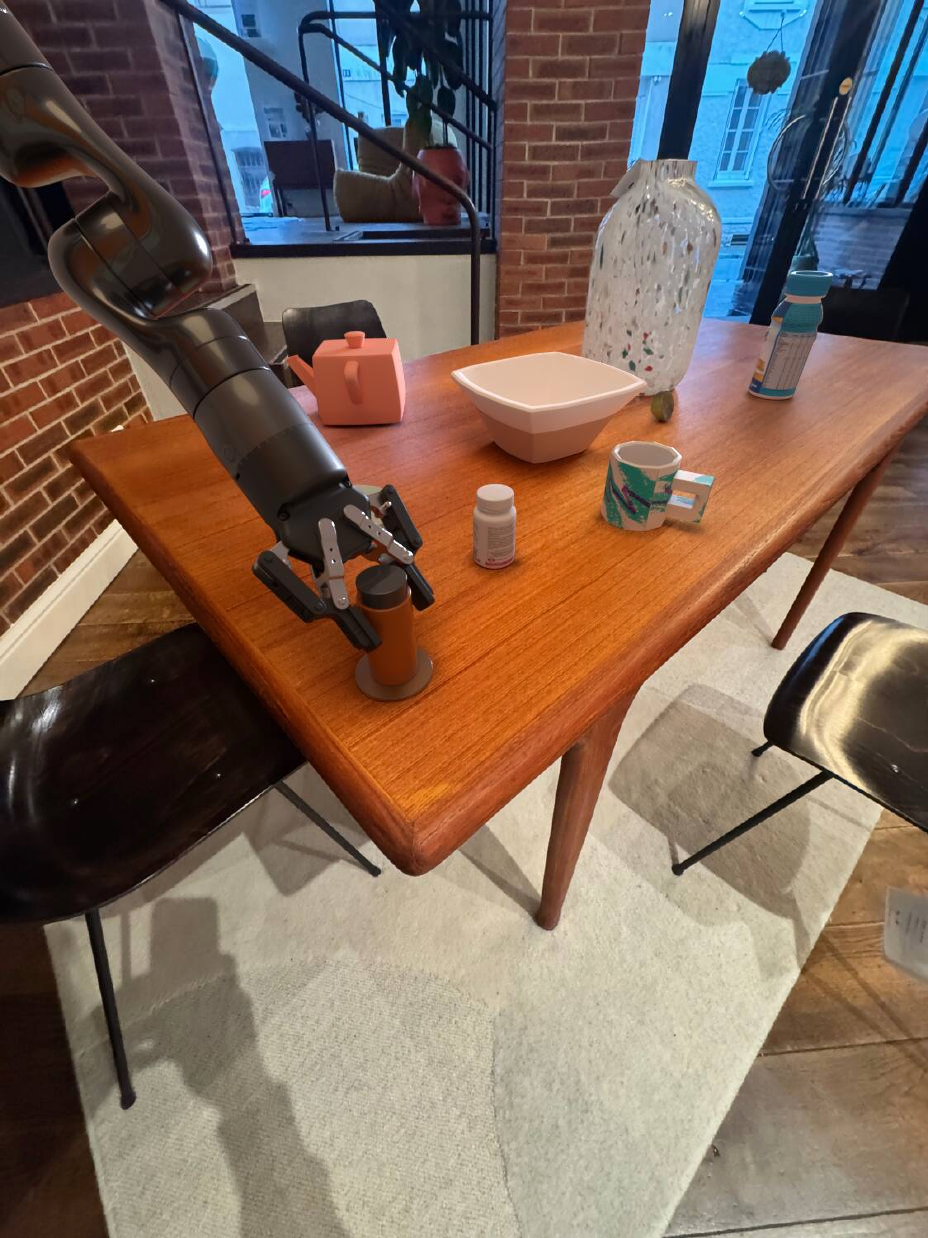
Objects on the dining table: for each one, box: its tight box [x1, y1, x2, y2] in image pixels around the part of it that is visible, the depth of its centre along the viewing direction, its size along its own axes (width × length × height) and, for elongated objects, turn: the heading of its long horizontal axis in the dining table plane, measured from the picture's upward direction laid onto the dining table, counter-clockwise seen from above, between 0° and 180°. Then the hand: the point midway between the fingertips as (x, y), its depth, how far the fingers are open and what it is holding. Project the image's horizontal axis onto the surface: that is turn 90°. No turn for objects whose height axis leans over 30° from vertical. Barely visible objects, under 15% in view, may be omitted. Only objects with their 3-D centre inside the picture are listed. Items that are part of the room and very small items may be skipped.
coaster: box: [354, 646, 434, 703], centre depth 47 cm, size 7×7×1 cm
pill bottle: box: [472, 483, 517, 570], centre depth 58 cm, size 5×5×8 cm
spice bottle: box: [354, 564, 419, 686], centre depth 44 cm, size 4×4×10 cm
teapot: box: [285, 330, 406, 426], centre depth 93 cm, size 20×22×14 cm
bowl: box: [450, 351, 648, 465], centre depth 82 cm, size 24×25×11 cm
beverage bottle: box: [748, 270, 834, 401], centre depth 96 cm, size 8×8×20 cm
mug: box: [600, 440, 716, 532], centre depth 64 cm, size 8×12×8 cm
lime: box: [649, 389, 675, 422], centre depth 92 cm, size 4×5×5 cm
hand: (401, 626), depth 42 cm, fingers open, 5 cm apart
